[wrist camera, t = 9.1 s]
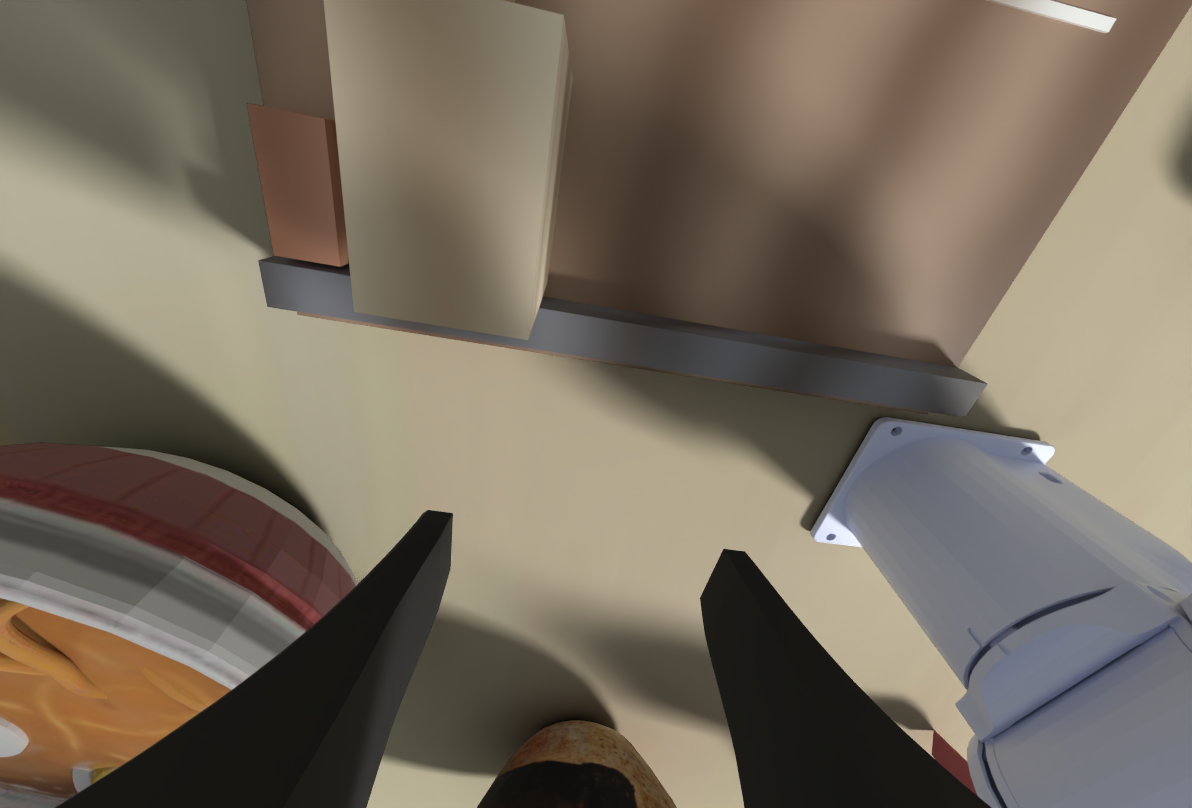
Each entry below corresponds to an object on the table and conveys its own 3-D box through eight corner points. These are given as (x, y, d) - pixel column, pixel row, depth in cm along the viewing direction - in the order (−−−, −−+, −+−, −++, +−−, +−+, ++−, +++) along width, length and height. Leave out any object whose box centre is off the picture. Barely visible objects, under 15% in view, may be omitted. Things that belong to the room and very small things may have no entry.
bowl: (173, 684, 30) (4, 896, 21) (-170, 410, 19) (-810, 617, 10) (483, 640, 28) (438, 850, 20) (304, 311, 17) (18, 457, 9)
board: (1195, -85, 12) (1361, -153, 10) (904, 398, 20) (953, 432, 17) (225, -393, 9) (88, -607, 7) (319, 303, 17) (271, 328, 14)
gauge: (596, -117, 11) (607, -395, 5) (547, 281, 15) (528, 340, 10) (433, -162, 10) (274, -509, 5) (435, 261, 15) (353, 312, 10)
